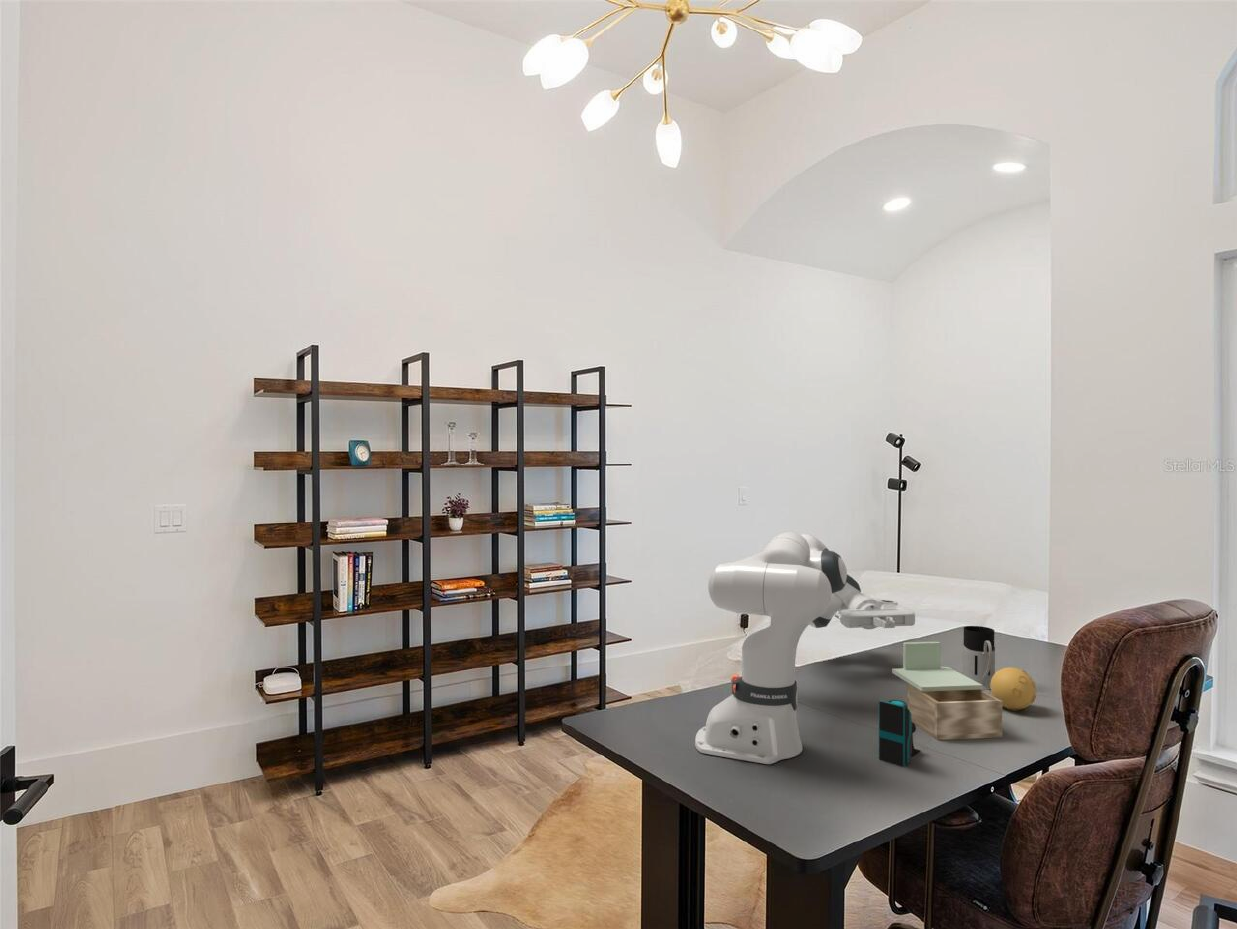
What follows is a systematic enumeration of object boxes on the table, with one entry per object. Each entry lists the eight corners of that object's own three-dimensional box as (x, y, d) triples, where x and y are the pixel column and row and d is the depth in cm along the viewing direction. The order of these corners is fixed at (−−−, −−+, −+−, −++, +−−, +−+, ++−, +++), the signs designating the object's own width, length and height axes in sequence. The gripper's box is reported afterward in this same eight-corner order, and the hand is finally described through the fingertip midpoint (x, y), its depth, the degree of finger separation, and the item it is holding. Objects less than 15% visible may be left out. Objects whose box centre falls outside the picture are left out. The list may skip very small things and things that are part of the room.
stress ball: (985, 710, 180) (1000, 694, 173) (983, 673, 186) (997, 656, 179) (1028, 719, 179) (1045, 704, 171) (1025, 681, 185) (1041, 665, 177)
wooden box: (936, 739, 159) (937, 703, 159) (907, 718, 172) (907, 684, 172) (1001, 737, 161) (1002, 701, 161) (967, 716, 174) (968, 682, 174)
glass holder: (990, 680, 201) (991, 626, 201) (1008, 697, 187) (1009, 639, 187) (956, 678, 203) (957, 624, 202) (972, 695, 189) (972, 637, 188)
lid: (921, 691, 166) (921, 659, 166) (892, 672, 180) (892, 642, 180) (982, 689, 168) (982, 657, 168) (948, 671, 182) (948, 641, 182)
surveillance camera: (925, 695, 152) (904, 707, 145) (925, 752, 153) (904, 767, 146) (899, 689, 156) (877, 700, 149) (898, 745, 157) (877, 759, 150)
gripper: (832, 603, 210) (852, 614, 196) (900, 601, 212) (925, 612, 198) (832, 625, 210) (852, 638, 196) (900, 622, 212) (925, 635, 199)
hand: (889, 625), depth 197 cm, fingers closed
